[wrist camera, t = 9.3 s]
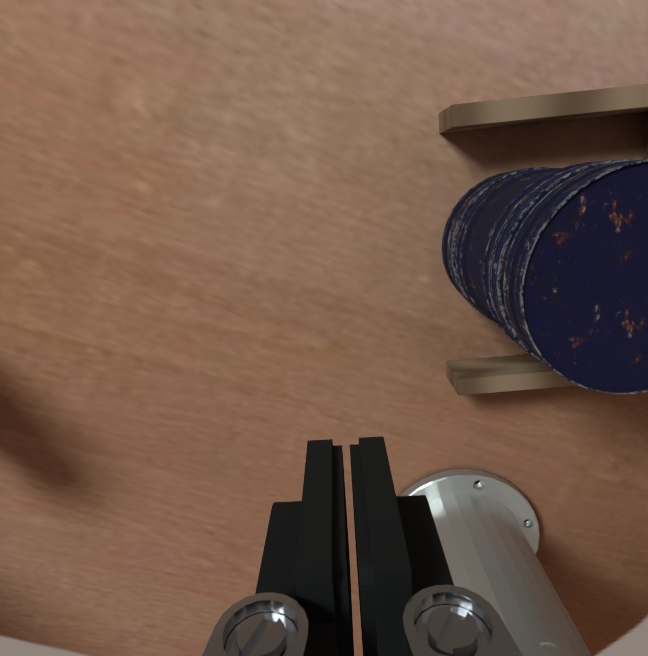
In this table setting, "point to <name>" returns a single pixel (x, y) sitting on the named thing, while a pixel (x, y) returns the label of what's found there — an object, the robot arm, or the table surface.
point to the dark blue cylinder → (561, 266)
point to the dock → (521, 111)
